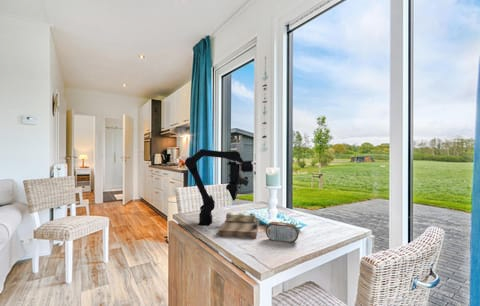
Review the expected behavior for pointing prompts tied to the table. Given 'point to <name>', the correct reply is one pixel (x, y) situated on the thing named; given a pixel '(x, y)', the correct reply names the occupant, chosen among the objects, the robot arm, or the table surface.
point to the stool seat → (239, 229)
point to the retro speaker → (282, 232)
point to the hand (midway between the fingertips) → (234, 199)
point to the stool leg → (240, 217)
